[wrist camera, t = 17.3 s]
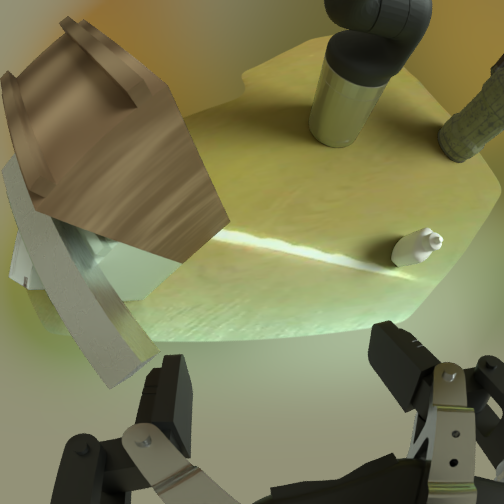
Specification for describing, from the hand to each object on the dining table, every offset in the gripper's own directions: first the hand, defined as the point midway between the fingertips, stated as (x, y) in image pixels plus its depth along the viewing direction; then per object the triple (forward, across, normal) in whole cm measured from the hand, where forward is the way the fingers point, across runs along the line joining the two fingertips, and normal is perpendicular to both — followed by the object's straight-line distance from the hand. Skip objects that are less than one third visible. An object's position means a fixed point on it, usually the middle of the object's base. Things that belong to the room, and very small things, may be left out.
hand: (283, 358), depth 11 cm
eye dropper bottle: (+29, -27, +7) cm, 40 cm away
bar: (+15, +17, -2) cm, 23 cm away
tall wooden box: (+37, +9, -2) cm, 39 cm away
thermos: (+35, -47, -12) cm, 60 cm away
